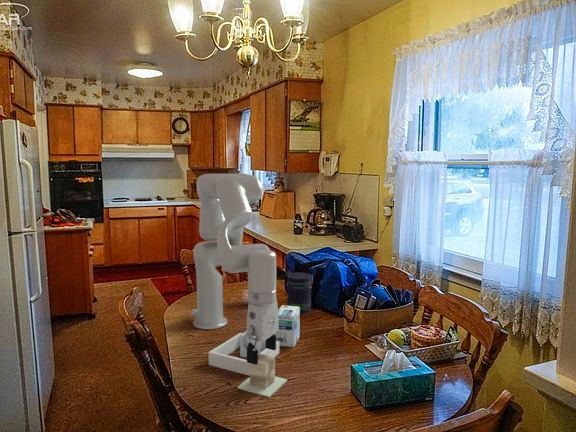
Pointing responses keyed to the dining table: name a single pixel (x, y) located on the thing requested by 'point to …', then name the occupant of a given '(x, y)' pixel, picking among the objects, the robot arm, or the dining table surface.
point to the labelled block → (263, 372)
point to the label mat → (260, 391)
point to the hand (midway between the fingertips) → (261, 355)
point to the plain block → (243, 350)
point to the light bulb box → (288, 325)
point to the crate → (224, 361)
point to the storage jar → (299, 291)
